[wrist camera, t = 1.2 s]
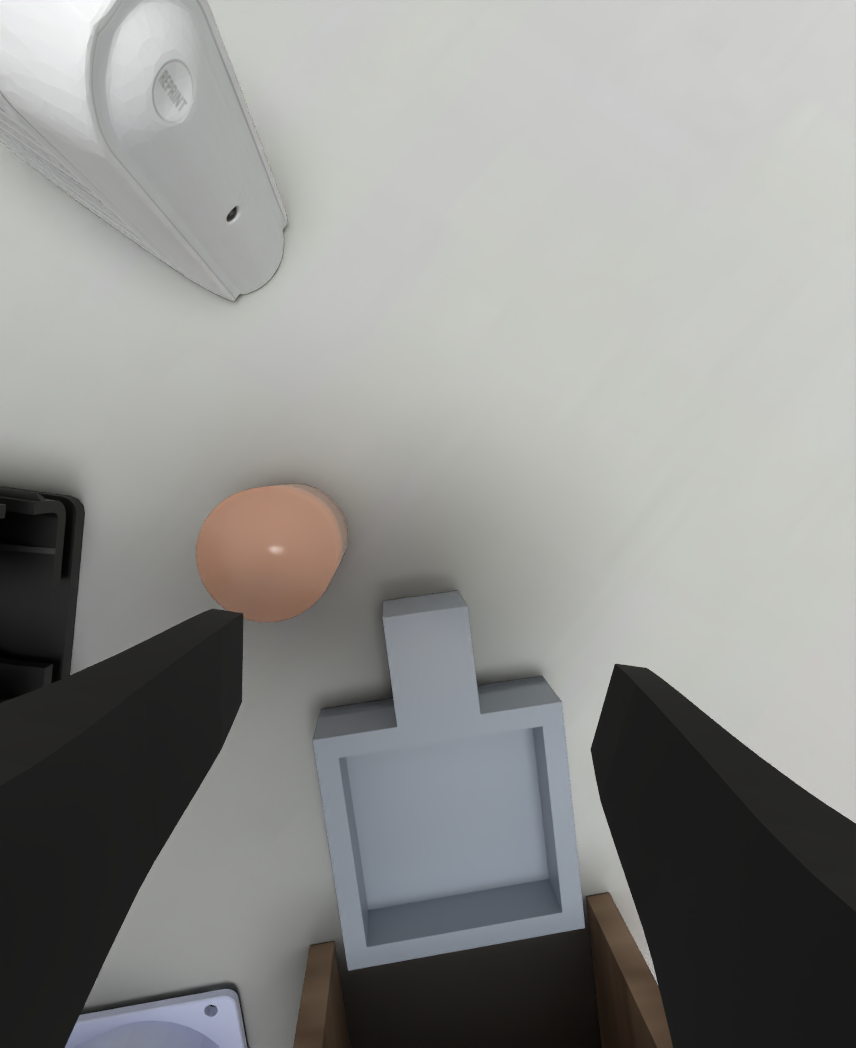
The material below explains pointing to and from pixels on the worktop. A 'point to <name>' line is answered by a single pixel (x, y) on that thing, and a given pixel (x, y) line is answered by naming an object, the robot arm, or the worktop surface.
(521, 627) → the worktop surface
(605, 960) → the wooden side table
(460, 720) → the tray
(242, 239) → the photo printer
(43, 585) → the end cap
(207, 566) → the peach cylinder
